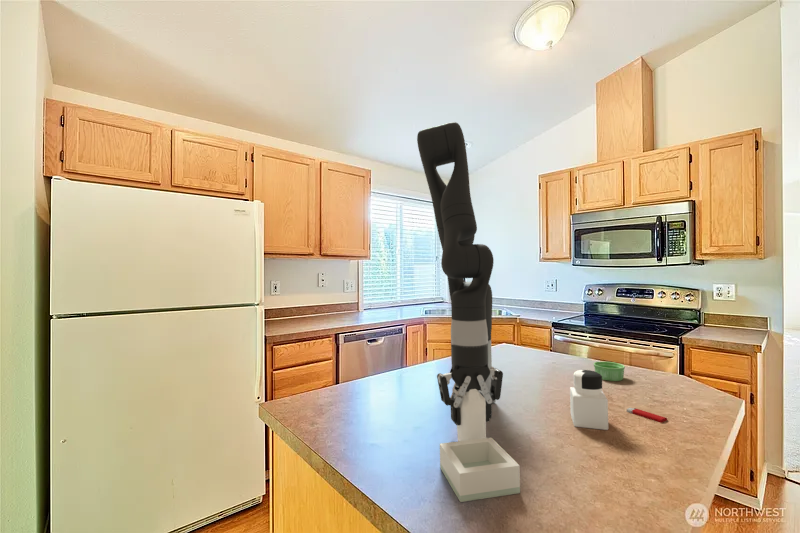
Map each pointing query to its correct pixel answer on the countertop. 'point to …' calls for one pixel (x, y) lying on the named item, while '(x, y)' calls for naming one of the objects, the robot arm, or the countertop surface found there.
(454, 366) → the robot arm
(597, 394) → the medicine bottle
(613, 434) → the countertop surface
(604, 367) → the ramekin
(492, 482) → the socket
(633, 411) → the lighter
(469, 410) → the roll
